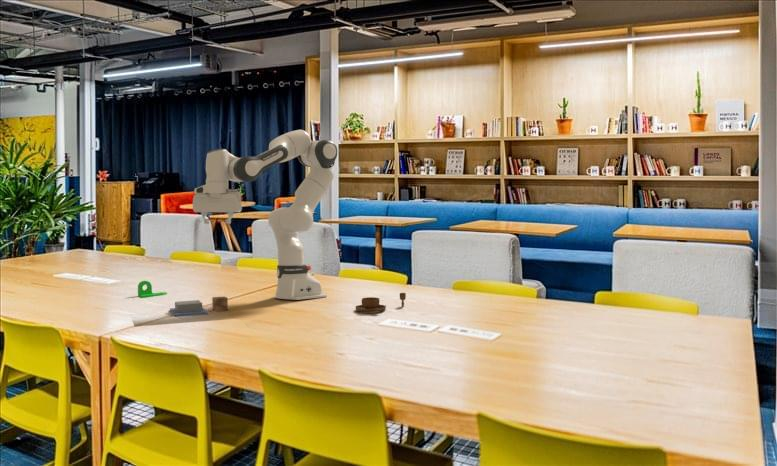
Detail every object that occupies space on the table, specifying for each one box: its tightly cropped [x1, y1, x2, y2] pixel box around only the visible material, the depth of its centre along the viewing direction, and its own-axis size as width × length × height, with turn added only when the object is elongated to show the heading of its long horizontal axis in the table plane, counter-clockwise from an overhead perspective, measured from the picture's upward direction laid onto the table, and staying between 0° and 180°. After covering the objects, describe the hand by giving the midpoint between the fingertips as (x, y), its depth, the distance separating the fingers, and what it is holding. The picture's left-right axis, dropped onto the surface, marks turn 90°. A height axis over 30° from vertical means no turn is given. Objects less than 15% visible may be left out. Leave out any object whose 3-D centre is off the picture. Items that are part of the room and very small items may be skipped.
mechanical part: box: [137, 280, 168, 299], centre depth 298 cm, size 12×6×8 cm, turn 131°
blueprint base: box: [169, 299, 209, 317], centre depth 257 cm, size 12×16×4 cm
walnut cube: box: [211, 296, 229, 312], centre depth 262 cm, size 5×5×5 cm
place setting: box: [355, 292, 407, 315], centre depth 260 cm, size 18×20×6 cm
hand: (217, 223), depth 267 cm, fingers open, 8 cm apart
